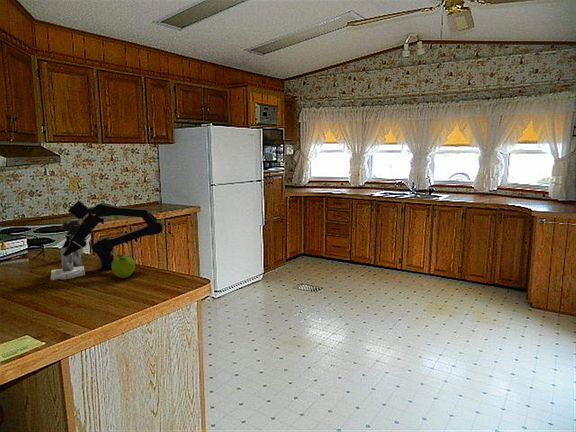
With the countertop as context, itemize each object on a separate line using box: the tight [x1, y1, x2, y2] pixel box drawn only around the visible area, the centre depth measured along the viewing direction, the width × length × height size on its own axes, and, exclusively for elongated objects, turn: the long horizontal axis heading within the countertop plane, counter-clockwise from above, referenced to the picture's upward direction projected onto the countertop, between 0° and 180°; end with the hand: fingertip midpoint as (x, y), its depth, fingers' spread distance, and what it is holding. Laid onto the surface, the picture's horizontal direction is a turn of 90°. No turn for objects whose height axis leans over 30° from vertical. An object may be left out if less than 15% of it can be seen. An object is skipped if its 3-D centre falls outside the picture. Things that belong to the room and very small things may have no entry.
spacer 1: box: [59, 247, 74, 271], centre depth 179 cm, size 4×4×10 cm
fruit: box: [111, 253, 136, 279], centre depth 173 cm, size 9×9×10 cm
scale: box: [50, 265, 86, 281], centre depth 179 cm, size 13×15×2 cm
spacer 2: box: [72, 249, 83, 267], centre depth 193 cm, size 4×4×10 cm
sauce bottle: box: [69, 218, 84, 258], centre depth 209 cm, size 6×6×20 cm
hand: (62, 253), depth 178 cm, fingers open, 9 cm apart
